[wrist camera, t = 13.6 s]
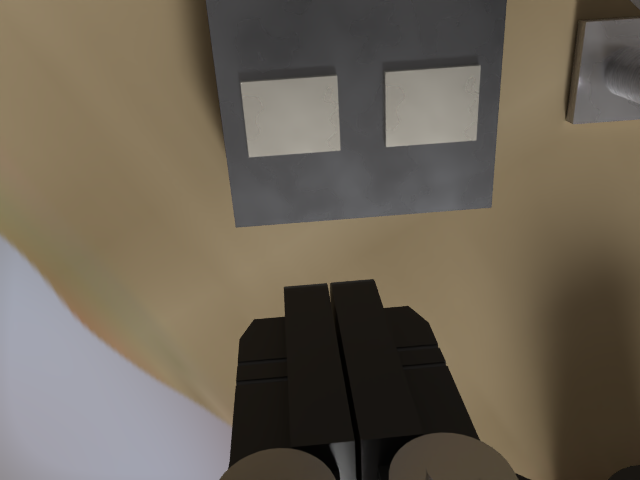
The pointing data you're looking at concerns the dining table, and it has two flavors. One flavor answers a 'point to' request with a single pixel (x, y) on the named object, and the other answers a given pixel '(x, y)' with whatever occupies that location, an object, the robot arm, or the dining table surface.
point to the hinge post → (605, 71)
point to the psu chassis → (357, 105)
